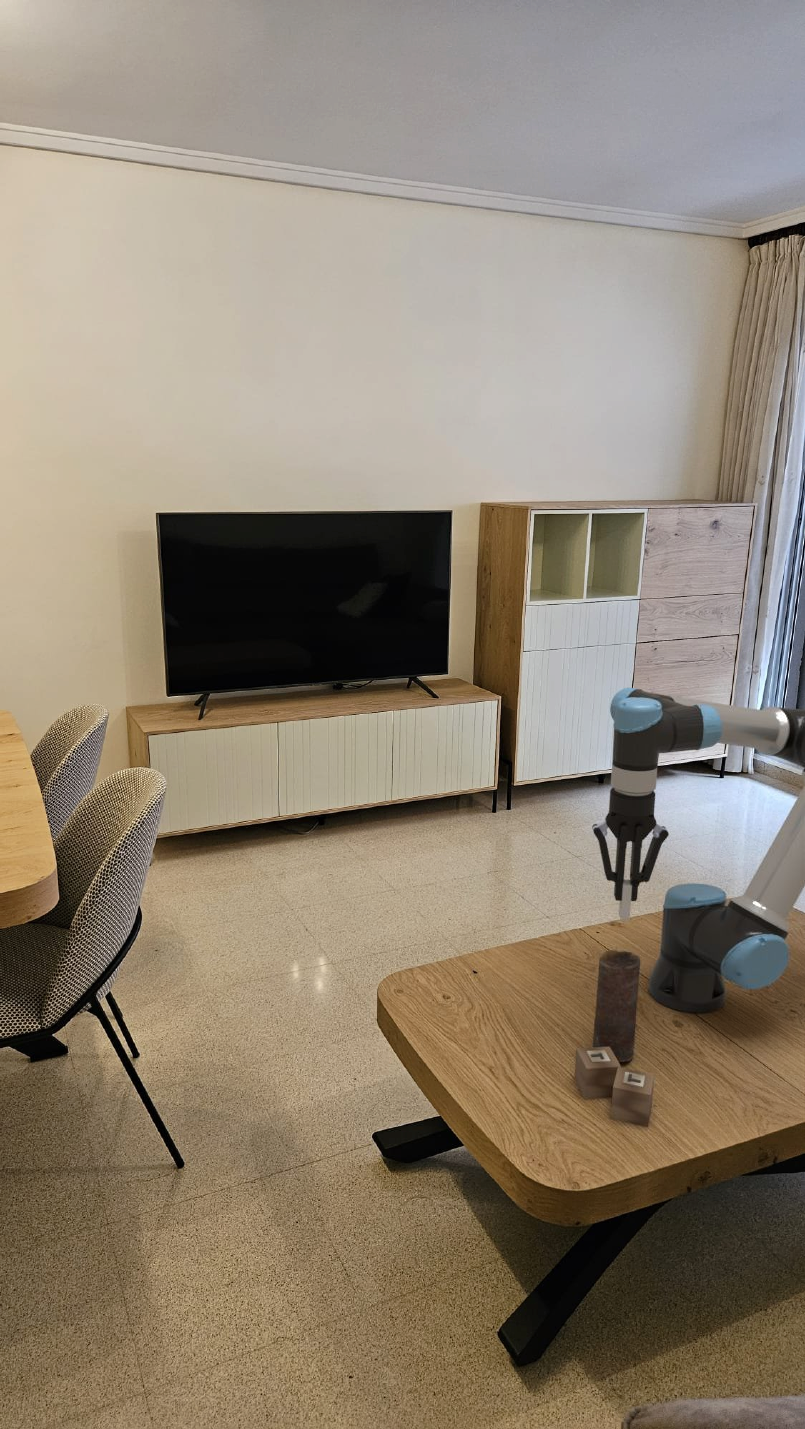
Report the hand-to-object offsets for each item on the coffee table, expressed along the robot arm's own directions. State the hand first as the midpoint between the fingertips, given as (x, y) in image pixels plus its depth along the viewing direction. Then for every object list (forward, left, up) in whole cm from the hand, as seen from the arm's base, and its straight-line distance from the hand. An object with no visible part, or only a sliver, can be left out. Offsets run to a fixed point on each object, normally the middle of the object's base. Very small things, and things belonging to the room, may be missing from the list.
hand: (624, 916), depth 173 cm
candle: (0, 0, -28) cm, 28 cm away
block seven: (-1, +16, -28) cm, 32 cm away
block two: (+4, +10, -28) cm, 30 cm away
